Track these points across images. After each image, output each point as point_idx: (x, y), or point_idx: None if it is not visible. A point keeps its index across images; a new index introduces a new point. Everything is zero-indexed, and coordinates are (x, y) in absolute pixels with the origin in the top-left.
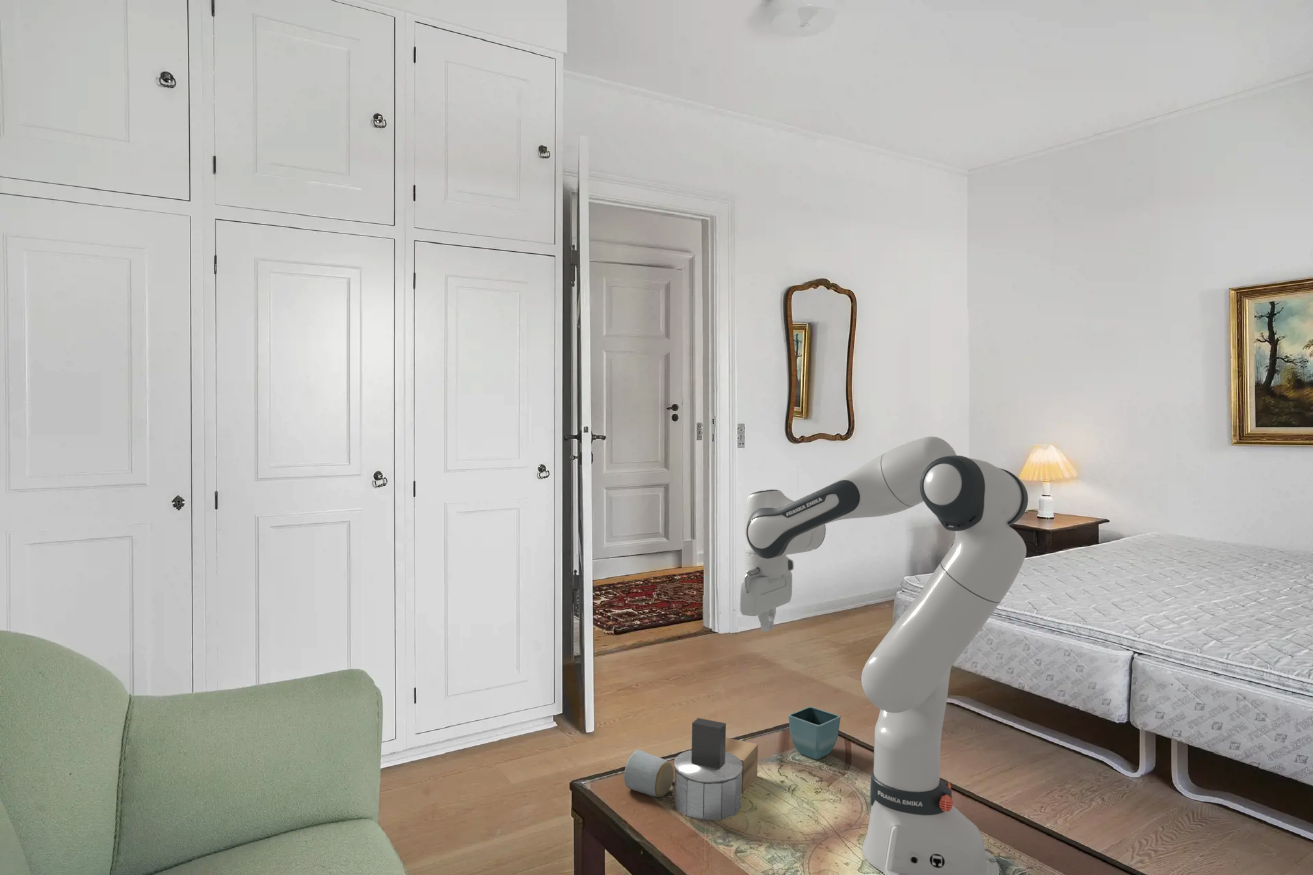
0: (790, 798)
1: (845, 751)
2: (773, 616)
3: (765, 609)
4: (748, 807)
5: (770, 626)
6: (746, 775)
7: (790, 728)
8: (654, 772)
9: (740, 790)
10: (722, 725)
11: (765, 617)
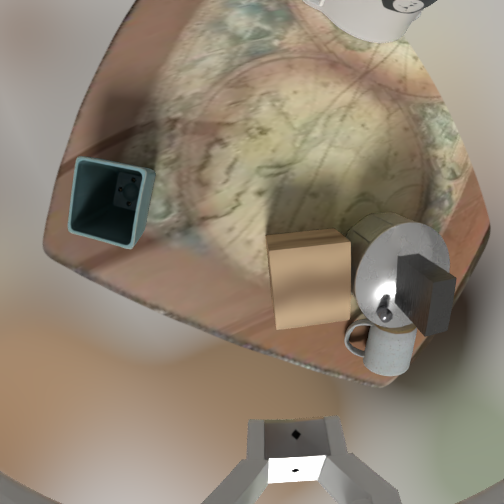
0: (308, 159)
1: (95, 154)
2: (249, 487)
3: (498, 500)
4: (366, 204)
5: (305, 434)
6: (325, 235)
7: (140, 236)
8: (416, 330)
9: (385, 218)
10: (443, 282)
11: (385, 487)
